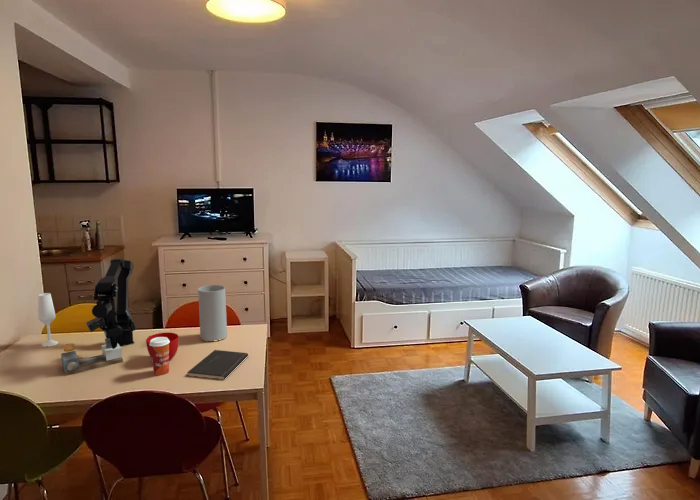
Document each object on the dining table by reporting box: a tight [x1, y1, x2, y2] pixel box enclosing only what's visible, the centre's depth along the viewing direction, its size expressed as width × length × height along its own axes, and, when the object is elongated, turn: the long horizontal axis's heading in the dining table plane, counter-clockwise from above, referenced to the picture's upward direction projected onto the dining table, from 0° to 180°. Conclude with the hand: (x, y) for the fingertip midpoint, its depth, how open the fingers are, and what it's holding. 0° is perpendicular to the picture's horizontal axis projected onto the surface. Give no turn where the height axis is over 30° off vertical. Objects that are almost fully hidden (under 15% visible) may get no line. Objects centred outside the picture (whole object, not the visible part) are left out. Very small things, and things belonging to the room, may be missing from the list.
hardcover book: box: [187, 349, 249, 380], centre depth 192 cm, size 16×23×2 cm
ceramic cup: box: [145, 332, 180, 362], centre depth 198 cm, size 13×17×10 cm
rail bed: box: [60, 350, 124, 376], centre depth 191 cm, size 21×10×6 cm, turn 129°
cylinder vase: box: [197, 284, 228, 342], centre depth 221 cm, size 12×12×25 cm
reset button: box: [62, 343, 75, 353], centre depth 185 cm, size 4×4×2 cm
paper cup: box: [149, 337, 170, 376], centre depth 184 cm, size 8×8×14 cm
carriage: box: [101, 338, 123, 361], centre depth 195 cm, size 6×8×8 cm
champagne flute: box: [37, 292, 59, 348], centre depth 211 cm, size 7×7×24 cm
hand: (111, 345), depth 195 cm, fingers open, 9 cm apart
